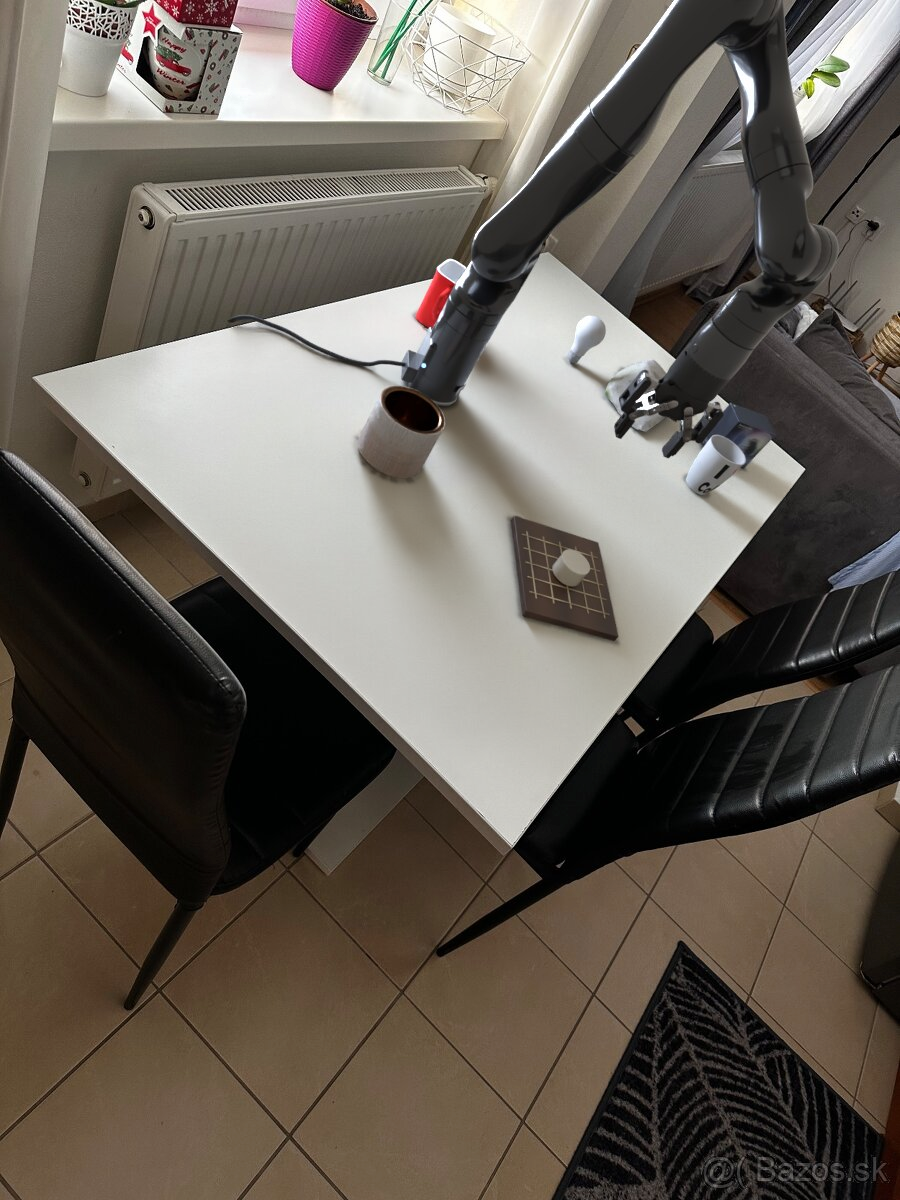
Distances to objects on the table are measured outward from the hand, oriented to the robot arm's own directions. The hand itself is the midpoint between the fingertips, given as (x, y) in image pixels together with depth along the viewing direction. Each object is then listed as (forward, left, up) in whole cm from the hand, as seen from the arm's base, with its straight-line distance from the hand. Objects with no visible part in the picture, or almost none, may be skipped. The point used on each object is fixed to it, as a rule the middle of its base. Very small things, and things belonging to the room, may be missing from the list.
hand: (641, 444), depth 127 cm
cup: (+34, +28, -21) cm, 49 cm away
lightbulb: (+9, +56, -21) cm, 61 cm away
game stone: (-2, -10, -20) cm, 22 cm away
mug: (-23, +49, -21) cm, 58 cm away
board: (-3, -10, -21) cm, 24 cm away
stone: (+26, +53, -21) cm, 63 cm away
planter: (-32, +6, -21) cm, 39 cm away
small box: (+45, +43, -21) cm, 66 cm away
